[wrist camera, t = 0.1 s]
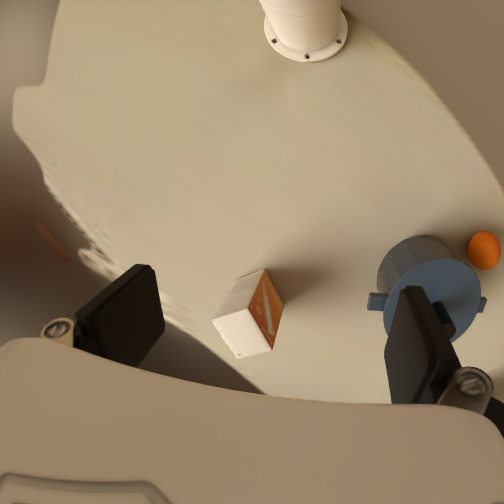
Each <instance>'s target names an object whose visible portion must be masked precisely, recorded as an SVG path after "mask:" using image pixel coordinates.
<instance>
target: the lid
mask: <svg viewBox="0 0 504 504" xmlns="http://www.w3.org/2000/svg"><path fill="white" fill-rule="evenodd" d="M407 285H413V286H422V287H423V289H424V291H425V293H426V295H427V297H428V299H429V300H430V302H431V304H432V306H433V308H434V310H435V312H436V314H437V316H438V318H439V320H440V322H441V323H442V325H443V327H444V329H445V331H446V333H447V335H448V337H449V339H450V341H451V343H452V342H454V341H455V340H456V339H458V338H459V337H460V336H461V335H462V334H463V333H464V332H465V331H466V330H467V329H468V328H469V326H470V325H471V323H472V322H473V320H474V318H475V316H476V314H477V311H478V308H479V305H480V300H481V288H480V283H479V280H478V278H477V275H476V274H475V272H474V271H473V270H472V269H471V268H470V266H468V265H467V264H466V263H465V262H463V261H461V260H458V259H455V258H450V257H439V258H433V259H429V260H426V261H424V262H422V263H420V264H418V265H416V266H414V267H413V268H411V269H410V270H409V271H407V272H406V273H405V274H404V275H403V276H402V277H401V278H400V279H399V280H398V281H397V282H396V284H395V285H394V286H393V288H392V290H391V291H390V293H389V295H388V297H387V300H386V303H385V306H384V312H383V321H384V327H385V330H386V333H387V335H388V336H389V332H390V329H391V325H392V321H393V317H394V314H395V310H396V306H397V301H398V297H399V293H400V290H401V289H405V287H406V286H407Z"/></svg>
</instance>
